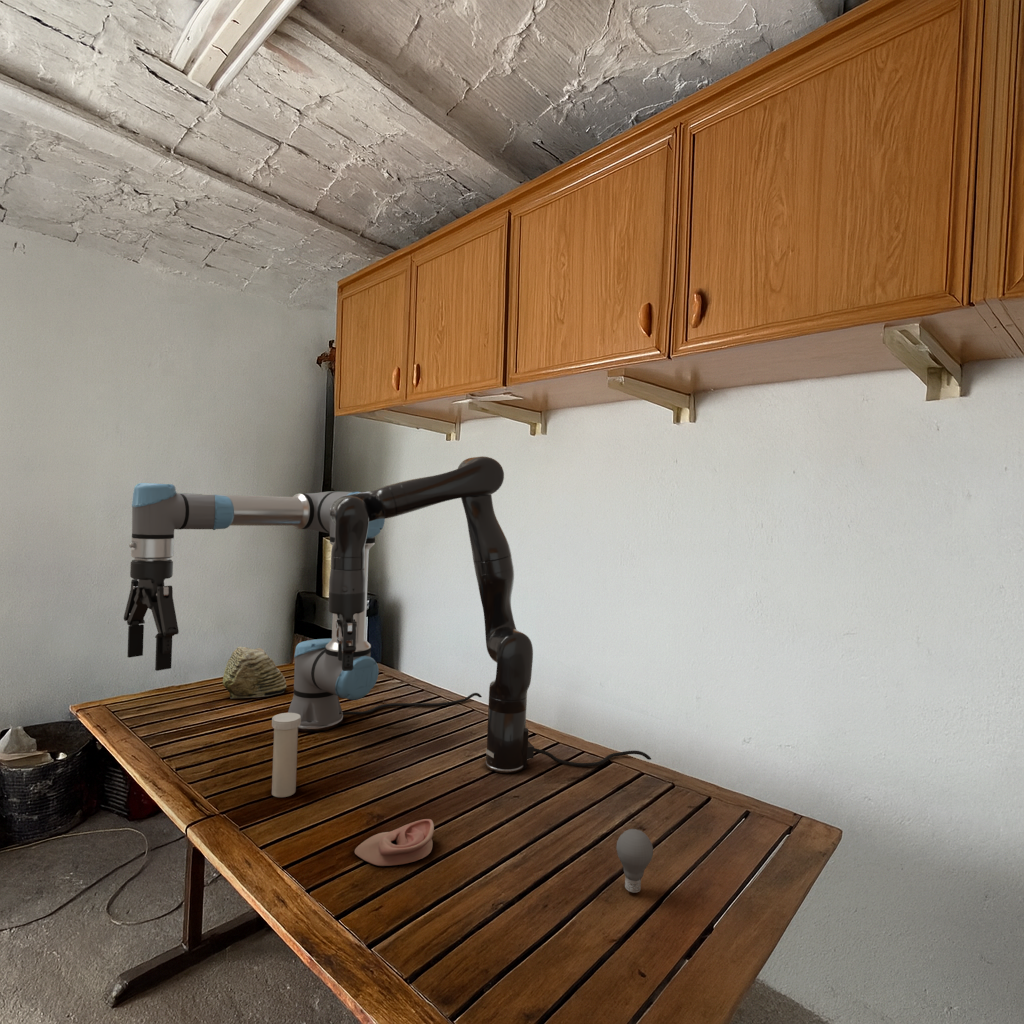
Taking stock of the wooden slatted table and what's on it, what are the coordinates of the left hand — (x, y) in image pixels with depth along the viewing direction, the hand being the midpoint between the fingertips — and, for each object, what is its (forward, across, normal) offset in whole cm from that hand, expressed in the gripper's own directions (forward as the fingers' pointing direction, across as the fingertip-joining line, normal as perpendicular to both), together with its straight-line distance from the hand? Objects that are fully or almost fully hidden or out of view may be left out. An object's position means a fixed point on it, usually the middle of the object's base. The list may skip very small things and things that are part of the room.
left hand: (148, 662), depth 129 cm
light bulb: (+28, +90, +41) cm, 103 cm away
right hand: (0, +26, +29) cm, 39 cm away
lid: (+12, +18, +21) cm, 30 cm away
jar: (+28, +18, +21) cm, 39 cm away
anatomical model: (+28, +52, +22) cm, 63 cm away
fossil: (+28, -47, +50) cm, 74 cm away
